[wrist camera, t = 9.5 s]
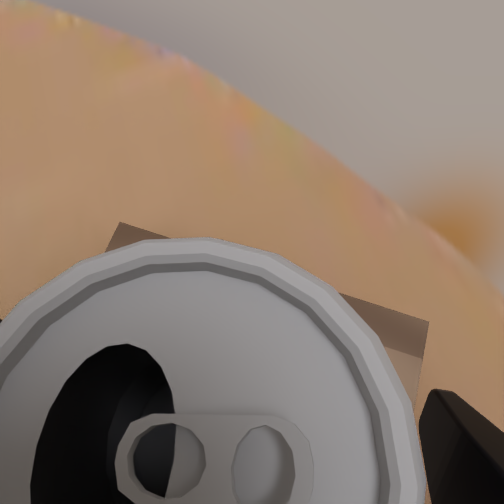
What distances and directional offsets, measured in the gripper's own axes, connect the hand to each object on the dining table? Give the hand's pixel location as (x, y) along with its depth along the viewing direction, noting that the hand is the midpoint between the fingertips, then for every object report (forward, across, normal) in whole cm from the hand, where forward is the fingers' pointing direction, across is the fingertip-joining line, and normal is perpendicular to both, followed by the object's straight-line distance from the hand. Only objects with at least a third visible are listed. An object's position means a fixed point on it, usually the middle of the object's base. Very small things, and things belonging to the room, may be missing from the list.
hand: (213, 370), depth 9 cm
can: (+5, 0, +7) cm, 9 cm away
